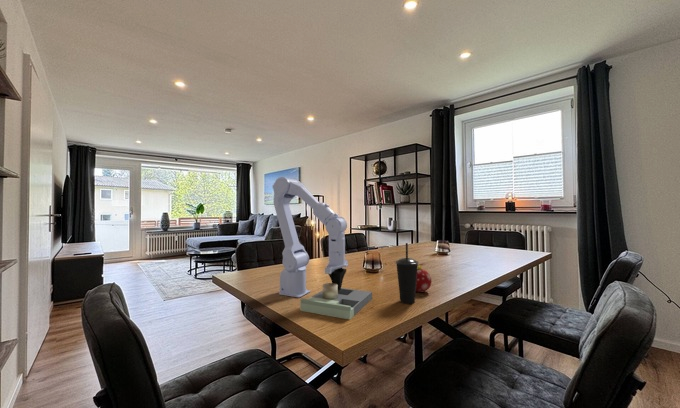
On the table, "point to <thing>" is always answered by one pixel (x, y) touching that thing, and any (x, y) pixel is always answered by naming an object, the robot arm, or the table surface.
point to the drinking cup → (407, 278)
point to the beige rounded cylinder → (330, 291)
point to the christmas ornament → (422, 280)
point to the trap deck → (337, 303)
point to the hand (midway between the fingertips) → (337, 289)
